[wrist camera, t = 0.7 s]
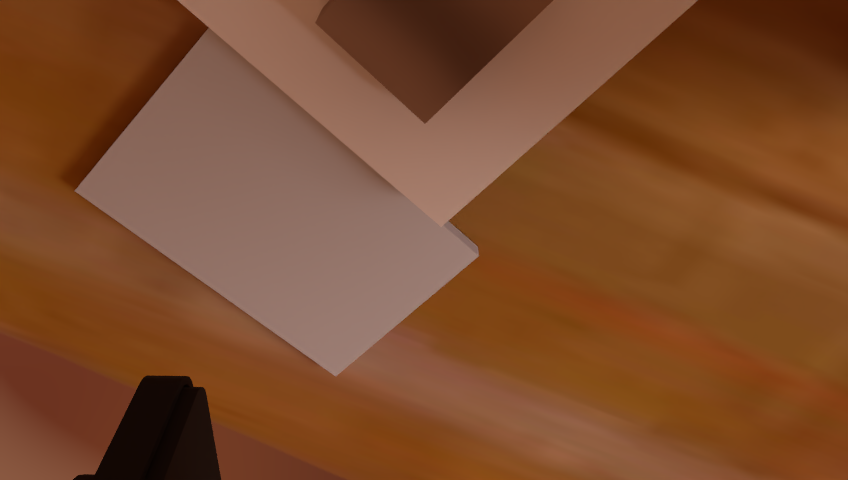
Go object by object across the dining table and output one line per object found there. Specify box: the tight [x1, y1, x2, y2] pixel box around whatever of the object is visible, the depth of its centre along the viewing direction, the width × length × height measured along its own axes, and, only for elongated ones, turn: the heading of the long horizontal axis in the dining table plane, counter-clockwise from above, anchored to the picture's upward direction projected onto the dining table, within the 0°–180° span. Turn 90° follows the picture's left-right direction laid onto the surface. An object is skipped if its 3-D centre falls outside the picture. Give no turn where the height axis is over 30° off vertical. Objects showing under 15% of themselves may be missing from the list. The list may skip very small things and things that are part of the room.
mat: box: [75, 28, 479, 376], centre depth 40 cm, size 12×18×1 cm, turn 46°
